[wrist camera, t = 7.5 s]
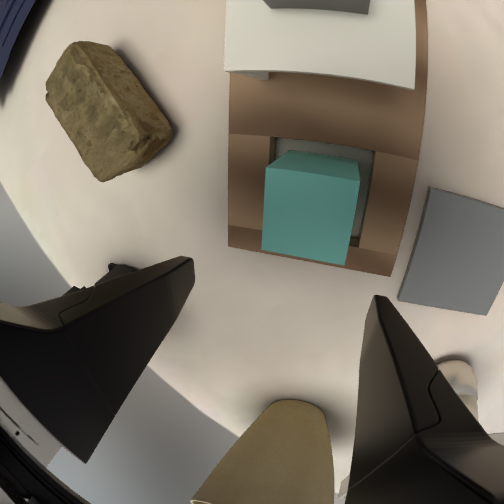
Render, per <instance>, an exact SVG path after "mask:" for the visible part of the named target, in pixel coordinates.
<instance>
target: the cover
mask: <svg viewBox="0 0 504 504" xmlns="http://www.w3.org/2000/svg"><path fill="white" fill-rule="evenodd" d="M415 68H416V24H415V4H414V0H227V1H226V21H225V44H224V71H226V72H231V73H235V74H239V75H243V76H247V77H251V78H254V79H258V80H268V77H269V72H289V73H305V74H317V75H327V76H336V77H344V78H351V79H357V80H364V81H370V82H375V83H380V84H385V85H390V86H395V87H400V88H404V89H408V90H414V88H415Z"/></svg>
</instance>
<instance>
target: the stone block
mask: <svg viewBox="0 0 504 504" xmlns="http://www.w3.org/2000/svg"><path fill="white" fill-rule="evenodd" d="M46 90H47V91H48V93H47V94H46V101H47V103H48V105H49V106H50V107H51V109H52V110H53V112H54V114H55V117H56V118H57V119H58V121H59V122H60V124H61V125H62V127H63V128H64V130H65V132H66V133H67V135H68V136H69V138H70V139H71V141H72V142H73V143H74V145H75V147H76V149H77V150H78V152H79V154H80V156H81V158H82V160H83V161H84V163H85V164H86V166H87V167H88V168H89V169H90V170H91V172H92V173H93V175H94V177H95V178H97V179H98V180H99V181H101V182H105V181H108V180H111V179H113V178H115V177H116V176H119V175H122V174H123V173H126V172H129V171H132V170H134V169H138V168H141V167H142V166H143V165H144V164H145V163H146V162H148V161H149V160H150V159H151V158H153V157H154V156H155V155H156V153H157V152H158V151H159V150H160V149H161V148H162V147H164V146H165V145H166V144H167V143H168V142H169V141H170V139H171V138H172V135H173V132H172V129H171V128H170V125H169V122H168V121H167V119H166V118H165V116H164V115H163V114H162V113H161V111H160V110H159V108H158V106H157V105H156V104H155V102H154V101H153V100H152V99H151V98H150V96H149V95H148V94H147V93H146V91H145V90H144V89H143V87H142V85H141V83H140V82H139V81H138V79H137V78H136V77H135V76H134V74H133V73H132V72H131V70H130V69H129V68H128V67H127V66H126V65H125V63H124V61H123V60H122V59H121V58H120V56H119V55H118V54H117V53H116V52H115V51H114V50H113V49H112V48H111V47H109V46H107V45H102V44H98V43H94V42H88V41H78V42H73V43H72V44H70V45H69V46H68V47H67V48H66V49H65V51H64V52H63V54H62V56H61V57H60V59H59V60H58V61H57V63H56V66H55V68H54V70H53V71H52V73H51V75H50V76H49V78H48V80H47V81H46Z"/></svg>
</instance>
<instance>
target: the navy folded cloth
mask: <svg viewBox="0 0 504 504" xmlns="http://www.w3.org/2000/svg"><path fill="white" fill-rule="evenodd" d="M34 2H35V0H0V77H1V76H2V74H3V71H4V68H5V66H6V63H7V61H8V58H9V56H10V54H11V49H12V47H13V44H14V42H15V40H16V38H17V35H18V33H19V31H20V29H21V27H22V25H23V23H24V21H25V19H26V17H27V15H28V13H29V11H30V9H31V8H32V6H33V4H34Z"/></svg>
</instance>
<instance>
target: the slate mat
mask: <svg viewBox="0 0 504 504" xmlns="http://www.w3.org/2000/svg"><path fill="white" fill-rule="evenodd" d="M503 281H504V208H501V207H498V206H495V205H492V204H489V203H486V202H482V201H479V200H476V199H472V198H469V197H466V196H462V195H459V194H455V193H452V192H448V191H444V190H440V189H437V188H433V187H429V189H428V193H427V198H426V202H425V206H424V211H423V215H422V219H421V222H420V226H419V230H418V234H417V237H416V241H415V244H414V248H413V251H412V254H411V257H410V261H409V264H408V267H407V270H406V273H405V276H404V279H403V282H402V285H401V287H400V290H399V293H398V296H397V298H398V301H402V302H408V303H413V304H419V305H425V306H431V307H436V308H442V309H448V310H454V311H460V312H467V313H473V314H479V315H485V316H486V315H487V314H488V312H489V310H490V308H491V306H492V304H493V302H494V300H495V298H496V296H497V294H498V292H499V290H500V288H501V286H502V283H503Z"/></svg>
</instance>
